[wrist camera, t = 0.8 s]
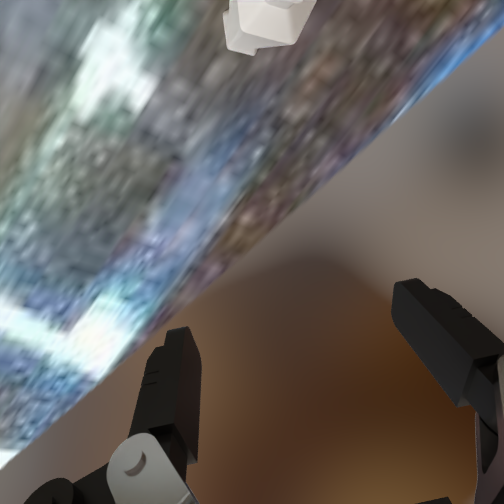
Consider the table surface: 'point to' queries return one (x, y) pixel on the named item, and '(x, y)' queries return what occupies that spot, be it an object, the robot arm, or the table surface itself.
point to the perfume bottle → (264, 23)
